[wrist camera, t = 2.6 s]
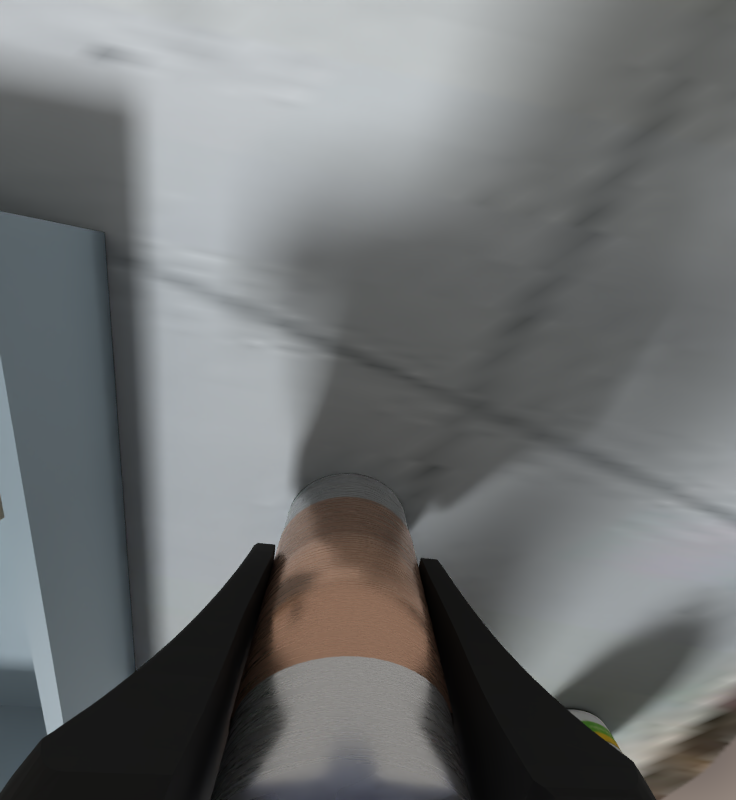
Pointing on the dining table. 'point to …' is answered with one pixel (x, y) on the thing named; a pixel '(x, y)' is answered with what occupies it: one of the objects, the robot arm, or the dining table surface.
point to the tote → (57, 486)
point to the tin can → (343, 663)
